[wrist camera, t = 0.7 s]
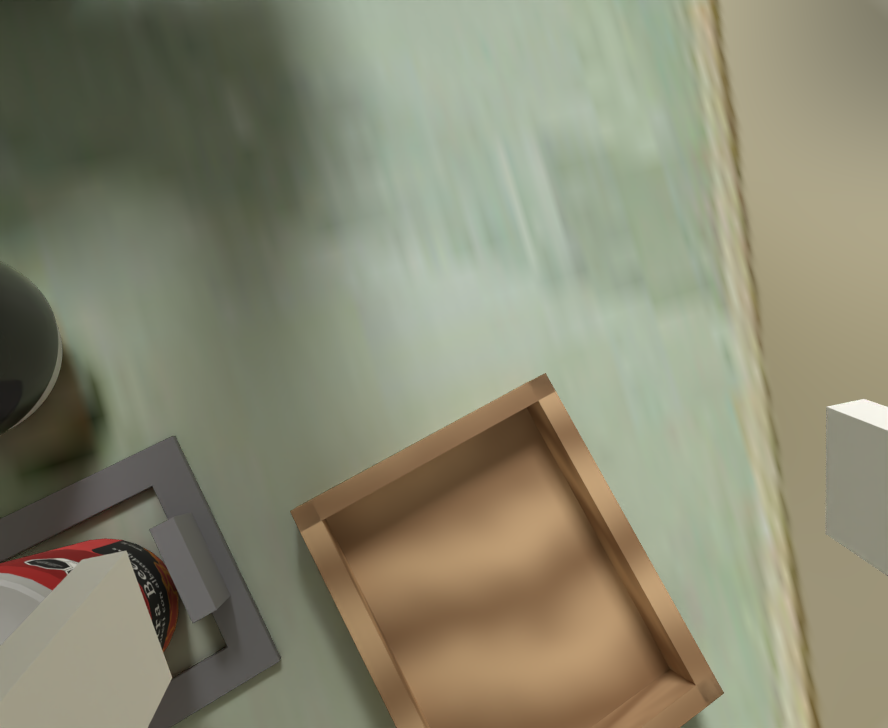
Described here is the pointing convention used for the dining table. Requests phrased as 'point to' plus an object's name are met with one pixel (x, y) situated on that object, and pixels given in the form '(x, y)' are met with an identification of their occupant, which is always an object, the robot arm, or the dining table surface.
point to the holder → (186, 557)
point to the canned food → (34, 577)
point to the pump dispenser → (25, 348)
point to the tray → (504, 581)
